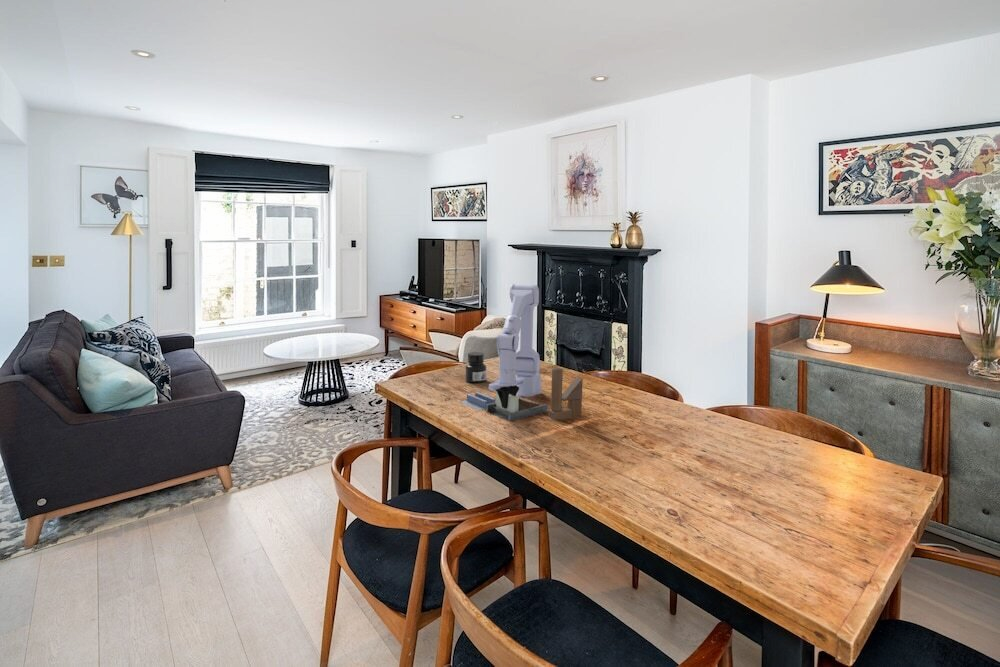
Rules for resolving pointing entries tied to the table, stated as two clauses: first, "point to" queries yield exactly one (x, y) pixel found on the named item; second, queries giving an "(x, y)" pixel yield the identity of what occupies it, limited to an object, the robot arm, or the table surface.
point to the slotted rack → (516, 415)
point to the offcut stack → (526, 404)
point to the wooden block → (565, 397)
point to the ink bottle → (475, 368)
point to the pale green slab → (511, 403)
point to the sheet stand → (478, 401)
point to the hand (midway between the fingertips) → (507, 407)
